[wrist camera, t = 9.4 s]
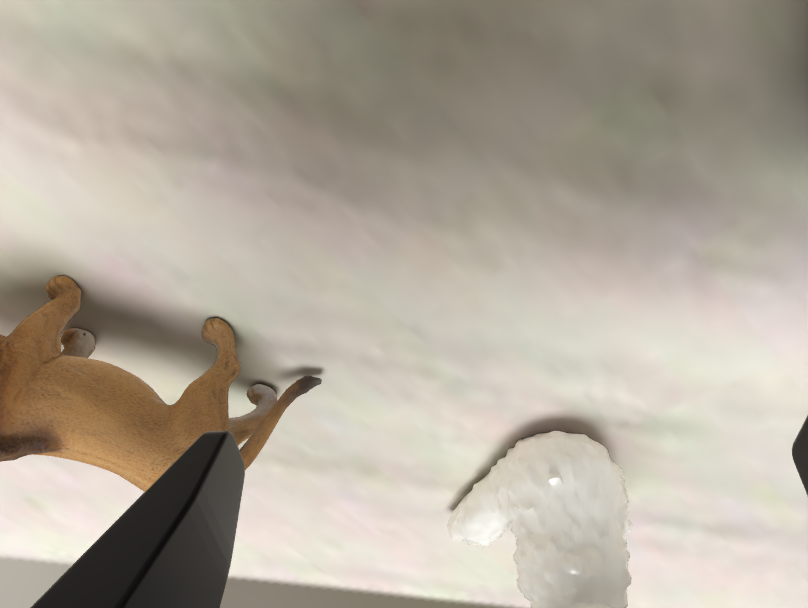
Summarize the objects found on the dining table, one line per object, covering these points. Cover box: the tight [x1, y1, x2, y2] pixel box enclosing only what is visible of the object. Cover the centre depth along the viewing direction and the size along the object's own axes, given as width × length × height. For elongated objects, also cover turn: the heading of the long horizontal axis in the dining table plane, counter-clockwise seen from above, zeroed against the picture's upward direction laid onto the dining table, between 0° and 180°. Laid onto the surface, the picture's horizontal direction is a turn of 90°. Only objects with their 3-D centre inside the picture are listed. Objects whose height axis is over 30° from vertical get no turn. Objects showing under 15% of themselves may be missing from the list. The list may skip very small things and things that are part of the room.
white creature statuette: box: [448, 431, 632, 608], centre depth 23 cm, size 10×9×12 cm
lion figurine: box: [0, 275, 322, 492], centre depth 20 cm, size 15×5×9 cm, turn 77°
